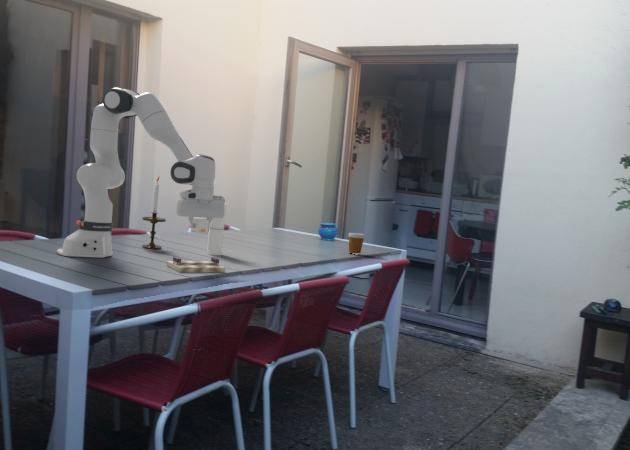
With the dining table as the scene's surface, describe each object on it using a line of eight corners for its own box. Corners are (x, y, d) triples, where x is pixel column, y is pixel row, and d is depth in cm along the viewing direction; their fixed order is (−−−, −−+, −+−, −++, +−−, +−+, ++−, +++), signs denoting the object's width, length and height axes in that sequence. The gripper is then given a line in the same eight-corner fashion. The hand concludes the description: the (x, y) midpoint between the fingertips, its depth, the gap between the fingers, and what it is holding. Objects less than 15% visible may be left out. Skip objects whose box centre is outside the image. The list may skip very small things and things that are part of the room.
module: (197, 234, 266) (199, 219, 266) (190, 231, 273) (191, 217, 272) (208, 234, 269) (209, 220, 268) (200, 231, 275) (201, 217, 275)
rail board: (179, 272, 261) (180, 260, 260) (166, 265, 272) (167, 254, 272) (224, 272, 272) (225, 261, 272) (210, 265, 283) (211, 255, 283)
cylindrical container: (210, 255, 313) (215, 203, 311) (204, 252, 319) (209, 201, 316) (224, 255, 317) (229, 204, 315) (217, 252, 323) (222, 202, 321)
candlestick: (166, 247, 321) (172, 176, 318) (158, 250, 310) (165, 176, 307) (144, 245, 322) (150, 174, 318) (136, 247, 311) (142, 174, 308)
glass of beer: (361, 256, 368) (364, 235, 366) (344, 254, 369) (347, 233, 368) (363, 254, 377) (366, 233, 376) (347, 252, 379) (349, 231, 378)
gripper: (222, 195, 278) (219, 227, 279) (176, 192, 266) (173, 226, 268) (228, 196, 272) (225, 229, 274) (182, 193, 261) (179, 228, 262)
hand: (199, 227), depth 271 cm, fingers closed on module, 4 cm apart
